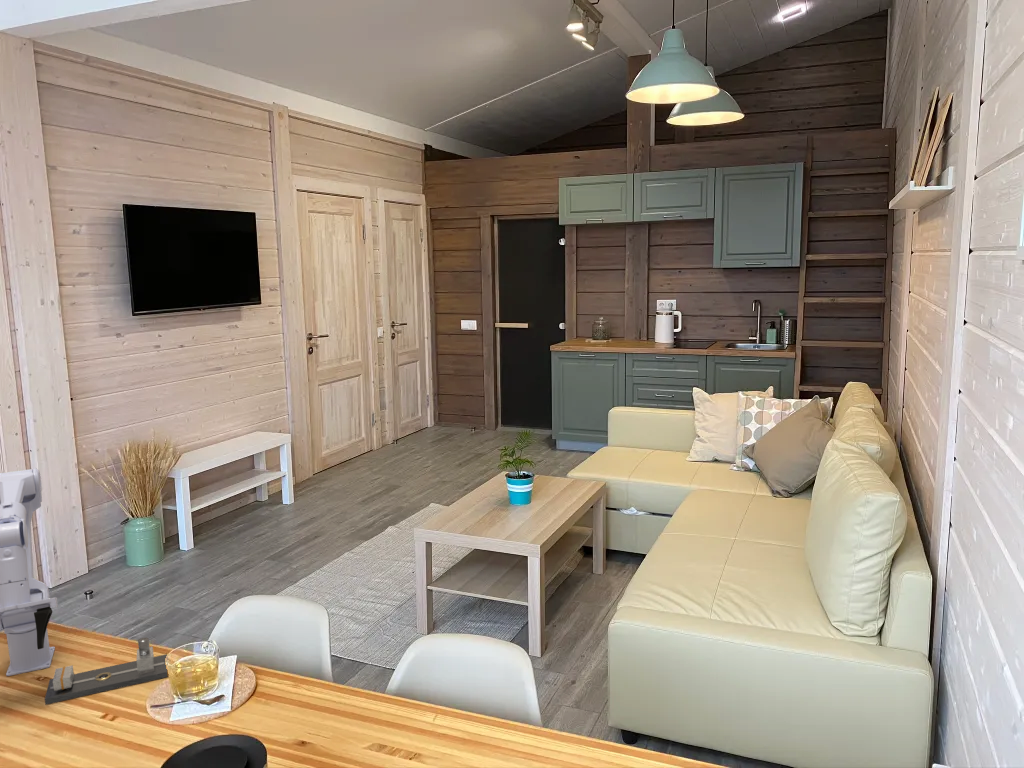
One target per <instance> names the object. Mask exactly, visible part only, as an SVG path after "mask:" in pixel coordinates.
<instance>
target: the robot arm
mask: <svg viewBox="0 0 1024 768" xmlns="http://www.w3.org/2000/svg"><path fill="white" fill-rule="evenodd" d="M41 479H42V478H41V474H40V469H38V468H37V467H33V468H31V469H29V468H28V469H22V470H13V471H7V472H0V631H3V632H4V634H5V635H6V640H7V647H8V648H7V649H8V655H9V662H10V663H9V665H8V668H7V671H6V673H5V675H6V677H10V676H15V675H20V674H24V673H29V672H34V671H40V670H43V669H49V668H50V667H51V665H52V661H53V657H54V653H55V649H56V647H55V646H50V641H49V633H48V626H49V623H50V619H51V617H52V615H53V610H52V609H55V608H59V607H58V604H59V603H58V597H51V594H50V590H49V587H48V585H47V583H45V582H42V581H41V580H38V579H36V578H35V576H34V560H33V559H34V558H33V542H32V540H33V539H32V538H33V537H32V520H33V514H34V512H35V511H36V510H38V509H39V508H41V507H42V502H43V497H42V495H43V494H42V480H41Z"/></svg>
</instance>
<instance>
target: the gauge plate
mask: <svg viewBox="0 0 1024 768" xmlns="http://www.w3.org/2000/svg"><path fill="white" fill-rule="evenodd" d="M149 640H150V639H149V637H142V638H140V639H138V640H137V644H138V648H137V649H136V660H133V661H130V662H125V663H120V664H119V663H118V664H114V665H111V666H105V667H100V668H96V669H93V670H87V671H82V672H78V673H74V677H73V682H72V687H70V688H66V689H63V690H62V689H61V690H56V691H54V686H53V678H50V679H49V681H48V685H47V688H46V689H47V690H46V693H45V697H44V703H45V705H46V706H47V705H51V704H53V703H54V704H55V703H59V702H63V701H68V700H72V699H77V698H82V697H85V696H90V695H94V694H99V693H103V692H104V693H105V692H107V691H112V690H116V689H121V688H126V687H129V686H135V685H139V684H144V683H149V682H152V681H157V680H160V679H166V678H168V677H169V676H167V669H166V665H165V658H166V656H167V657H168V655H167V653H165V654H162V655H158V656H154V646H152V645H151V646H150V641H149Z"/></svg>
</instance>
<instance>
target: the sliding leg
mask: <svg viewBox="0 0 1024 768" xmlns="http://www.w3.org/2000/svg"><path fill="white" fill-rule="evenodd" d="M53 674H54V675H53V678H52V679H53V686H54V691H56V690H61V689H62V690H63V689H66V688H70V687H72V682H73V677H74V674H75V672H74V665H73V664H72V665H69V666H68V665H67V666H62V667H57V668H55V670H54V673H53Z"/></svg>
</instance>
